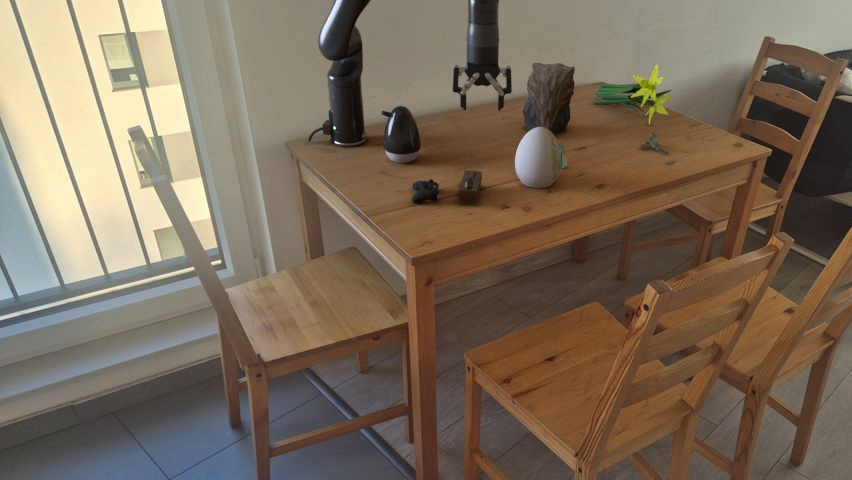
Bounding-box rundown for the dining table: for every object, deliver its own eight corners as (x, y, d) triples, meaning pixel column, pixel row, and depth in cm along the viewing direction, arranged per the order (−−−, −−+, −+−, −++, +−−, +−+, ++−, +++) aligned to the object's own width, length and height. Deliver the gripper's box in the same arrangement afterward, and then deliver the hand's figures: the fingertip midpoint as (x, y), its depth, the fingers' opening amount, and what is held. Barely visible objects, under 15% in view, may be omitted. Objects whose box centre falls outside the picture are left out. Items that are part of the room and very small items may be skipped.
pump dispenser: (379, 155, 191) (376, 102, 183) (414, 150, 195) (413, 98, 187) (389, 168, 183) (386, 114, 175) (425, 164, 187) (424, 110, 179)
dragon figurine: (676, 145, 203) (655, 130, 205) (673, 144, 196) (651, 128, 198) (662, 163, 205) (641, 148, 207) (658, 162, 198) (637, 146, 200)
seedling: (553, 178, 194) (557, 175, 188) (532, 159, 193) (536, 155, 187) (569, 160, 195) (575, 156, 188) (549, 141, 194) (554, 136, 187)
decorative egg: (567, 189, 176) (572, 134, 168) (522, 193, 173) (525, 137, 165) (550, 171, 186) (555, 118, 178) (508, 174, 183) (510, 121, 175)
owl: (519, 126, 215) (523, 62, 204) (551, 120, 221) (556, 57, 211) (544, 139, 206) (549, 73, 196) (576, 132, 213) (582, 67, 202)
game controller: (410, 184, 173) (427, 169, 171) (425, 198, 175) (442, 183, 174) (409, 201, 165) (426, 185, 163) (425, 215, 167) (442, 199, 165)
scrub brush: (476, 206, 166) (476, 187, 163) (458, 205, 166) (458, 186, 164) (481, 186, 176) (481, 168, 173) (464, 185, 176) (464, 166, 174)
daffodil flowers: (622, 99, 245) (696, 100, 217) (597, 127, 242) (668, 131, 213) (601, 61, 236) (674, 57, 208) (574, 89, 233) (645, 88, 204)
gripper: (512, 38, 162) (510, 105, 170) (453, 37, 161) (453, 104, 170) (513, 46, 155) (511, 115, 164) (451, 44, 155) (452, 114, 164)
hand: (481, 109), depth 167 cm, fingers open, 8 cm apart
